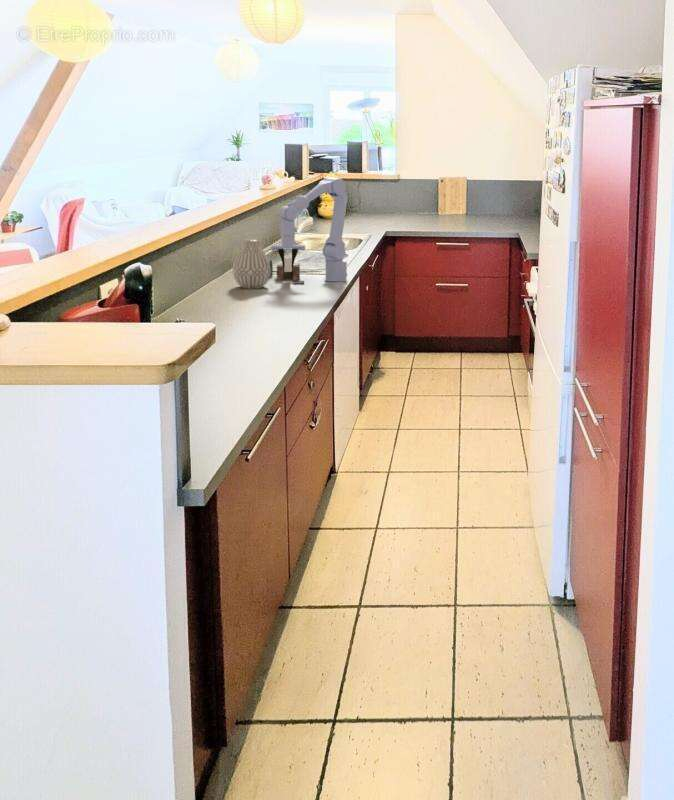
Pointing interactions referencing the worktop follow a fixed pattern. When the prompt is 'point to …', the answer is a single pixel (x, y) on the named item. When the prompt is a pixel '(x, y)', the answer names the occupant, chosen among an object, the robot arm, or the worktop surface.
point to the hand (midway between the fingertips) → (288, 267)
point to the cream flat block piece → (288, 265)
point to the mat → (298, 282)
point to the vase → (251, 266)
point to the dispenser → (294, 273)
